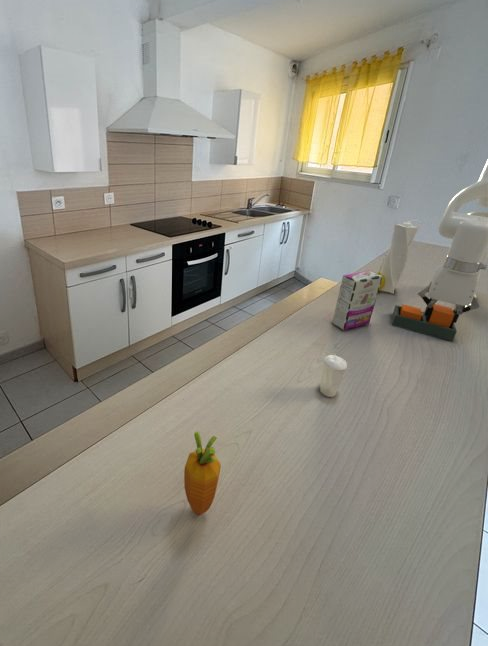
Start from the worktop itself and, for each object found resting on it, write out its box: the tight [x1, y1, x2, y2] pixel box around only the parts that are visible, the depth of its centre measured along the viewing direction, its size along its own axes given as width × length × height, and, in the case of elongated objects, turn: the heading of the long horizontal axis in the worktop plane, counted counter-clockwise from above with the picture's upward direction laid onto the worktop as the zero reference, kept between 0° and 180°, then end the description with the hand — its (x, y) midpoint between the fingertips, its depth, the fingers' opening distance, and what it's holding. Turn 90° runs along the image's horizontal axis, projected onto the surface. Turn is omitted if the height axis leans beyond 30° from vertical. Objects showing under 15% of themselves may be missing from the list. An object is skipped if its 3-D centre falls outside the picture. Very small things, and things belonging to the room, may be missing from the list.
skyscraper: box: [378, 218, 423, 295], centre depth 119 cm, size 8×8×28 cm
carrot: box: [183, 431, 221, 516], centre depth 45 cm, size 5×5×15 cm
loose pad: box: [428, 303, 454, 328], centre depth 97 cm, size 5×5×4 cm
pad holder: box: [391, 304, 457, 342], centre depth 99 cm, size 8×15×4 cm, turn 59°
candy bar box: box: [332, 270, 383, 331], centre depth 97 cm, size 11×5×16 cm, turn 114°
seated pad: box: [399, 304, 423, 320], centre depth 101 cm, size 5×5×4 cm
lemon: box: [376, 271, 385, 290], centre depth 121 cm, size 6×6×8 cm
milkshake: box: [319, 346, 348, 398], centre depth 71 cm, size 4×5×10 cm
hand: (438, 320), depth 97 cm, fingers closed on loose pad, 5 cm apart
